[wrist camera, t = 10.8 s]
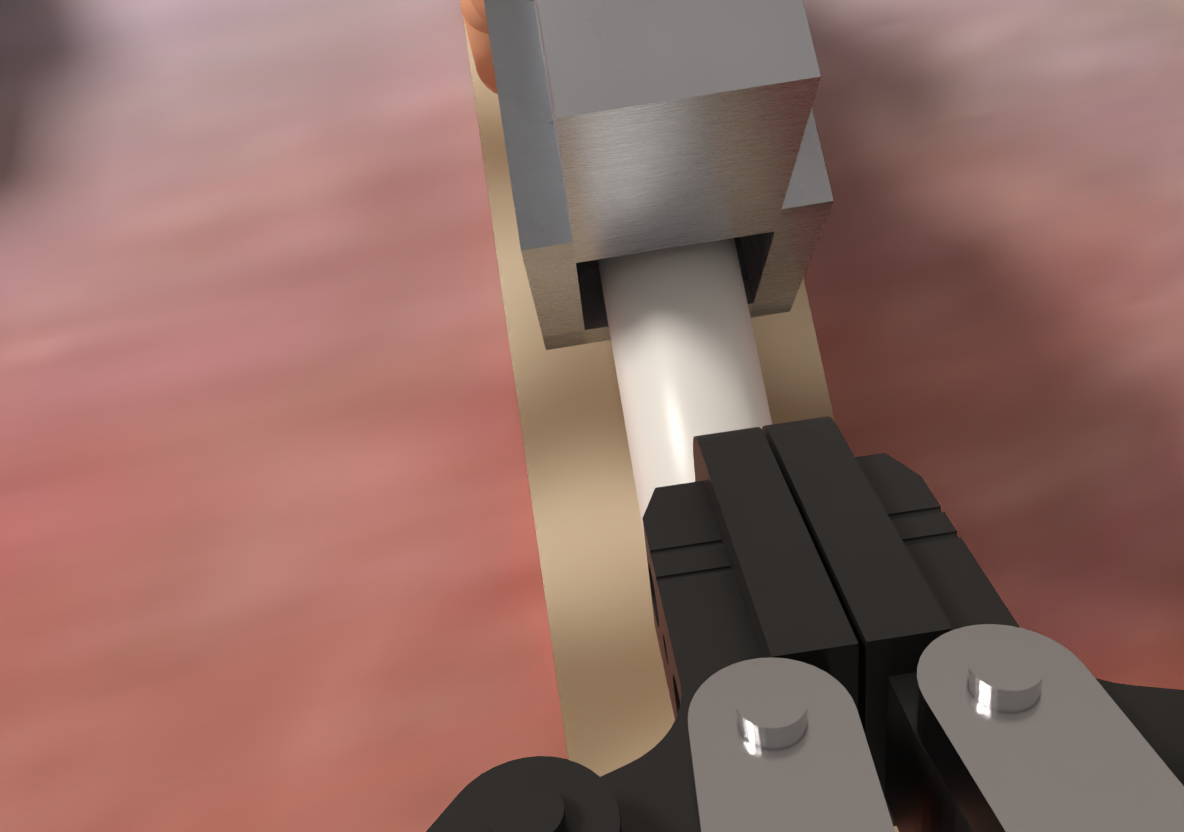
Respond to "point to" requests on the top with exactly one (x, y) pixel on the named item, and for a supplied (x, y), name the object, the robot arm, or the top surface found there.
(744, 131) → the grooved slider block
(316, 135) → the top surface
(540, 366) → the base board
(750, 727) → the robot arm
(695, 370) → the rod
